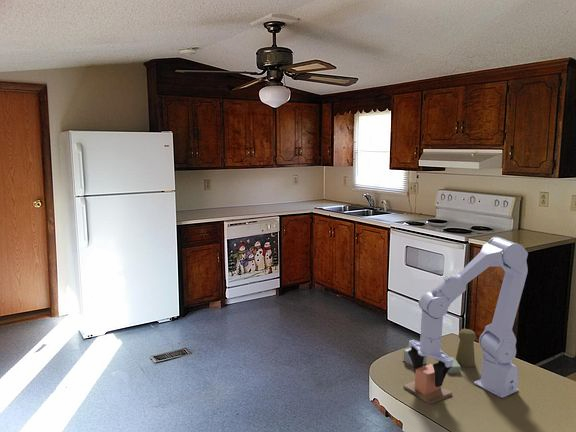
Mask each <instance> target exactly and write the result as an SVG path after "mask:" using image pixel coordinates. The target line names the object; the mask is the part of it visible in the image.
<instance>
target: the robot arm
mask: <svg viewBox="0 0 576 432" xmlns="http://www.w3.org/2000/svg"><path fill="white" fill-rule="evenodd" d="M528 255H529V253H528V252H527V250H526V249H525V248H524V246H523V245H522V244H520V243H516V242H513V241H510V240H508V239H505V238H504V237H503V238H502V237H500V236H493V237H491V238H490V239H489V240H488V242H486V243H484V244H483V245H482V247H481V249H480V252H478V254H477V255H475V257H474V258H473V259H471V261H469V262H468V263H467V264H466V265H465V267H464V268H463V269H461V271H459V273H458V274H450V275H449V276H448V275H447V276H445V277H444V278H443V281H442V282H440V284H438V285H437V286H436V287H434V288H433V289H431V291H428V292H426V293H425V292H424V293H423V295H422V296H421V297H420V300H418V303H417V304H418V306H419V308H420V309H421V318H420V320H421V321H420V322H421V323H420V338H419V341H418V340H415V339H412V340H408V348H412V349H411V350H409V351H408V354H409V356H410V358H411V360H412V363H413V366H412V367H413V371H414V374H415V373H416V369H418V368H421V367H423V366H424V364H423V360H424V356H426V358H429V359H430V358H431V359H433V360H435V361H437V362H436V363H432V364H433V368H434V371H435V386H436V387H439V386H442V387H443V383H444V380H445V378H446V376H447V374H448V373H447V372H448V371H449V369H450V368H451V367H452V366H453V359H451V358H450V357H451V356H448V354H446V353H445V352H444V351H443V350H441V348H442V338H443V337H442V336H443V323H444V321H443V320H444V319H443V318H444V316H446V314H447V313H448V311H449V308H450V306H451V304H452V303H453V302H454V301H455V300H456V299H458V298H459V297H460V296H461V295H462V294H463V293H464V292H465V291H467V284H468V283H470V282H471V281H472V280H474V279H475V278H476V277H478V276H479V275H480V274H482V273H483V272H484V271H485V270H487V269H488V268H490V267H492V268H493V267H496V268H497V267H501V268H502V269H503V272H504V275H503V279H502V283H501V287H500V290H499V295H498V298H497V302H496V306H495V310H494V314H493V317H492V321H491V323H489V324H487V325H486V326H485V327H484V330H483V331H482V333H481V334H480V335H479V338H478V344H479V346H480V348H481V349H482V350H481V352H482V360H481V374H480V379H477V380H474V381H473V383H474V384H475V385H476V386H479V387H480V388H482V389H484V390H486V391H488V392H490V393H491V394H493V395H495V396H497V397H499V398H501V399H502V398H505V397H508V396H510V395H512V394H514V393H516V392H518V391H519V388H518V382H519V372H520V370H519V367H518V366H517V365H515V364H513V363H512V361H513V360H514V359H515V357H516V355H517V346H516V344H517V338H516V335H515V333H514V331H513V327H514V324H515V319H516V316H517V313H518V309H519V306H520V302H521V298H522V294H523V290H524V288H525V284H526V283H525V282H526V279H527V275H528V271H529V270H528V263H527V259H528Z"/></svg>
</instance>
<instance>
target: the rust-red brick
mask: <svg viewBox="0 0 576 432" xmlns="http://www.w3.org/2000/svg"><path fill="white" fill-rule="evenodd" d="M433 364H434V363H430V364H425V365H423V367H421V368H418V369H416V373H415V372H414V381H415V389H416V390H418V391H419V392H421V393H423V394H424V395H427V394H429V393H432V392H434V391H437V390H439V389H441V386H439V387H436V386H435V371H434V368H433Z"/></svg>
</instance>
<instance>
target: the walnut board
mask: <svg viewBox="0 0 576 432" xmlns="http://www.w3.org/2000/svg"><path fill="white" fill-rule="evenodd" d="M403 388H404V389H405V390H407V391H408V392H410V393H411V394H413V395H414V396H416V397H418V398H419V399H421V400H422V401H424V402H425V403H427V404H429V405H432V404H434V403H437V402H438V401H441V400H444V399H446V398H448V397H450V396H451V397H452V395H453V392H452V391H451V390H449V389H447V388H445V387H443V385H442V386H441V389H439V390H437V391H434V392H432V393H429V394H427V395H424V394H423V393H421V392H419V391H418V390H416V389H415V380H413V381H411V382H408V383H406V384H403Z"/></svg>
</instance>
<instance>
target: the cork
mask: <svg viewBox="0 0 576 432" xmlns="http://www.w3.org/2000/svg"><path fill="white" fill-rule="evenodd" d="M458 338H459V343H458V346H457V351H456V355H455V359H456V361H457V362H458V364H459V365H460V366H461V367H465V368H471V367H472V368H473V367H475V365H476V360H475V359H476V358H475V343H474V341H476V338H477V335H476V332H475V331H473V330H472V329H468V328H462V329H460V330H459V332H458Z"/></svg>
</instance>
